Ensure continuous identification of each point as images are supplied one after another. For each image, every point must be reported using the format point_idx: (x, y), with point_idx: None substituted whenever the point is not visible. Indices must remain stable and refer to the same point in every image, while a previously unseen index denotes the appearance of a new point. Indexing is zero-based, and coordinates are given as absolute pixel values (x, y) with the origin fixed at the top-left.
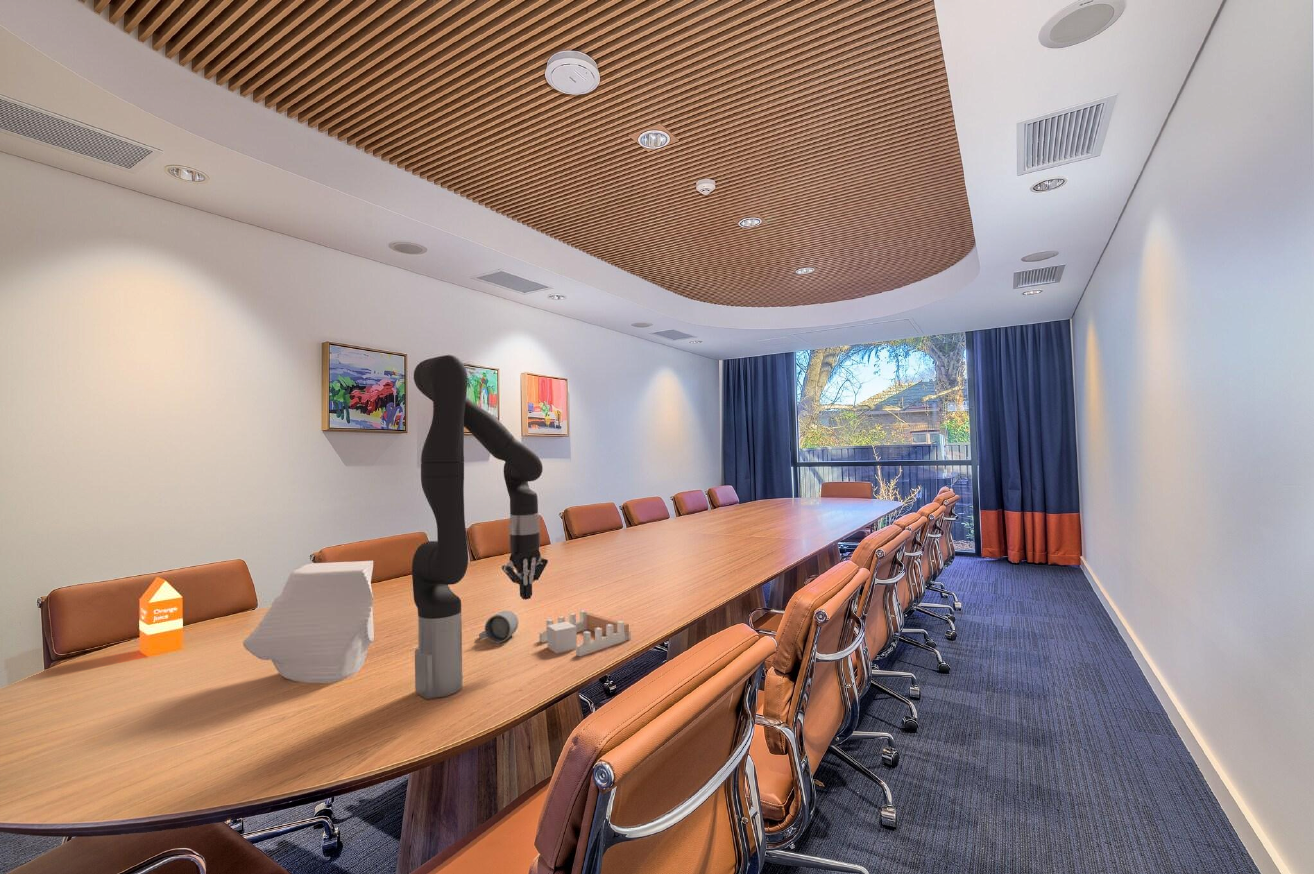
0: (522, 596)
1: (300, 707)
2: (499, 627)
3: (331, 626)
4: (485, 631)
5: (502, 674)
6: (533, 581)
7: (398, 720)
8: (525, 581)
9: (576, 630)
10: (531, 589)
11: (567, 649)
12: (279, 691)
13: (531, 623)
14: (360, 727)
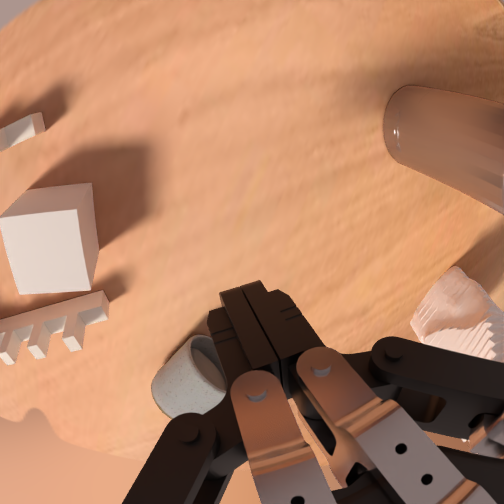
0: (285, 299)
1: None
2: (210, 370)
3: (499, 319)
4: None
5: (294, 109)
6: (217, 405)
7: (469, 69)
8: (330, 374)
9: (8, 320)
10: (222, 345)
11: (53, 187)
12: (478, 266)
13: (108, 407)
14: (490, 92)
